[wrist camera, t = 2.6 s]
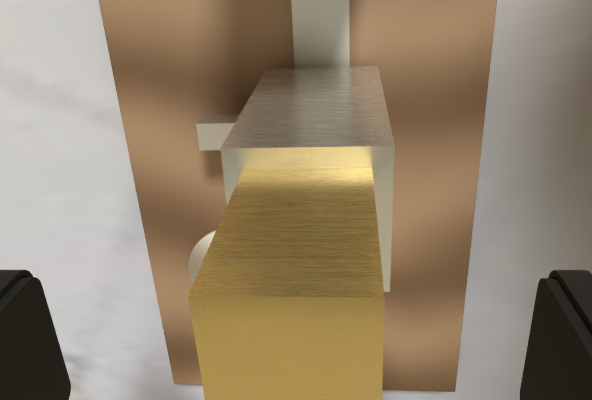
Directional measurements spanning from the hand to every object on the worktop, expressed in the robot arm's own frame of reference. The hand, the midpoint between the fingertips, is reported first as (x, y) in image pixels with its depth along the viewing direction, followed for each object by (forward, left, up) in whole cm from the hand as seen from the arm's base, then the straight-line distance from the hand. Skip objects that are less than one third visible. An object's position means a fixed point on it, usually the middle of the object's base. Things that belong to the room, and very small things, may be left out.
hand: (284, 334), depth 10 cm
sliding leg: (0, -1, -12) cm, 12 cm away
